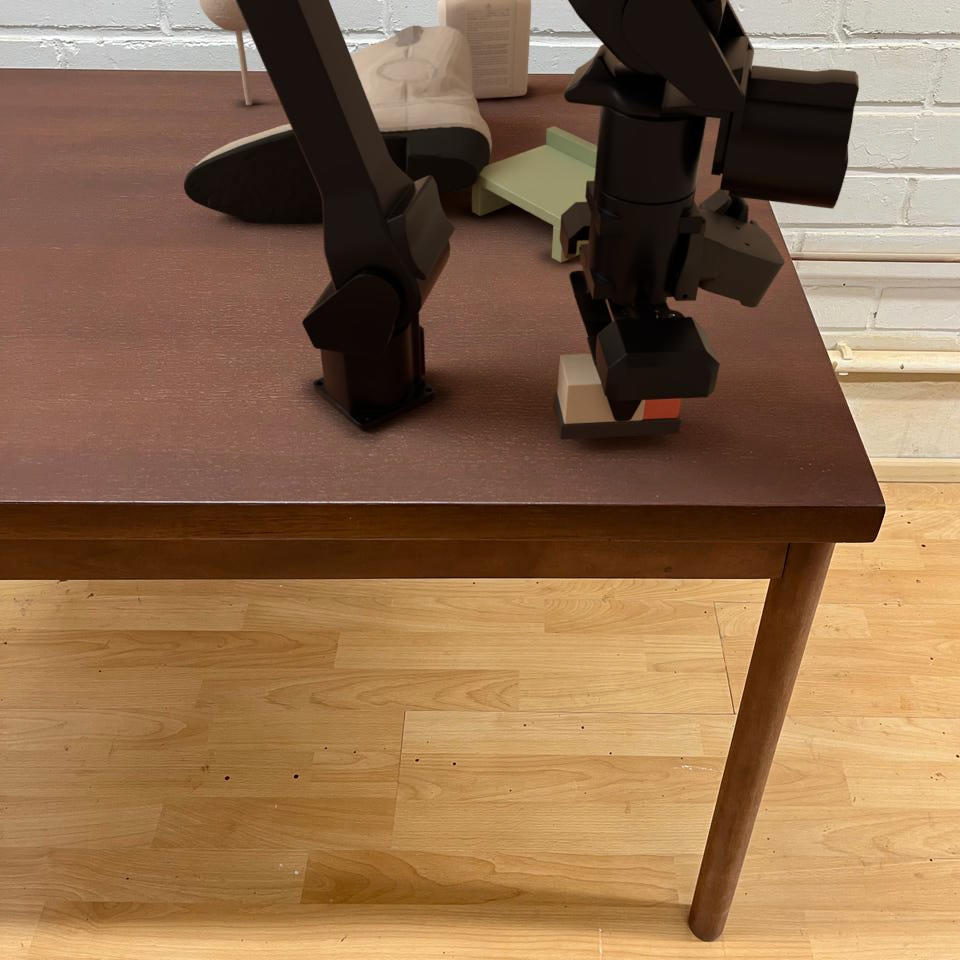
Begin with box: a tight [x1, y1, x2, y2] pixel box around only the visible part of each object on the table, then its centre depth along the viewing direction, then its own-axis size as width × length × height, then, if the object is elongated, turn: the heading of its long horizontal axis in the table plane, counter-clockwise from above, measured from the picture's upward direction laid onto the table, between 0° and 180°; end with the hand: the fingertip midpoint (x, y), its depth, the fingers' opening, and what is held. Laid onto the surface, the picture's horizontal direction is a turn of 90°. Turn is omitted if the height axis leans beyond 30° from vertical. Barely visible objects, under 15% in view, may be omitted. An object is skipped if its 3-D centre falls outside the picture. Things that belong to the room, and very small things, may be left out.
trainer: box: [552, 353, 682, 440], centre depth 67 cm, size 8×4×4 cm, turn 95°
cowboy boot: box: [183, 25, 493, 225], centre depth 96 cm, size 10×28×25 cm
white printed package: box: [436, 0, 532, 100], centre depth 110 cm, size 10×4×12 cm, turn 102°
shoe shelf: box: [471, 125, 597, 263], centre depth 90 cm, size 10×12×6 cm
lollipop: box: [198, 0, 253, 106], centre depth 106 cm, size 7×7×15 cm
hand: (617, 402), depth 67 cm, fingers closed on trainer, 3 cm apart
